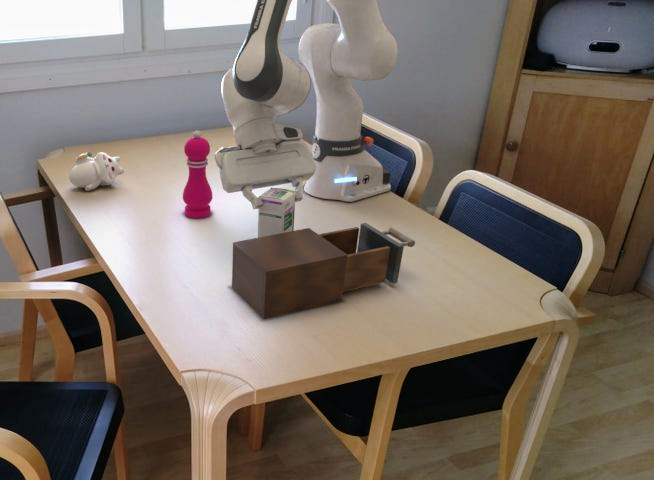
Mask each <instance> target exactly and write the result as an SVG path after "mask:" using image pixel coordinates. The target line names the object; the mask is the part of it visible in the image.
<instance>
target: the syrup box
mask: <svg viewBox="0 0 654 480" xmlns="http://www.w3.org/2000/svg"><path fill="white" fill-rule="evenodd" d="M295 196H296V192H295V190H291V189H286V188H281V187H273V186H270V188H269V189H267V191H265V192H263V193H262V194H261V195H259V196H258V197H261V202H262V204H263V205H262V207H261V208H259V209H258V210H257V212H258V213H257V215H258V216H257V217H258V218H257V238H259V237H264V236H270V235H275V234H280V233H285V232H291V231H295V230H294V229H295V213H296V211H295V210H296V202H295Z"/></svg>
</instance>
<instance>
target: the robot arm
mask: <svg viewBox="0 0 654 480" xmlns="http://www.w3.org/2000/svg"><path fill="white" fill-rule="evenodd" d="M292 1H293V0H257V1H256V4H255V8H254V11H253V14H252V18H251V20H250V23H249V28H248V30H247V34H246V37H245V39H244V41H243V43H242V45H241V47H240V49H239V51H238V54H237V56H236V58H235V59H234V63H233V67H231V68H230V69H229V70H228V71H227V72H226V73H225V74H224V76H223V78H222V81H221V84H220V85H221V88H220V89H221V90H220V91H221V92H220V93H221V98H222V102H223V103H222V104H223V107H224V110H225V113H226V118H227V120H228V122H229V123H230V124H231V127H232V134H233V138H234V141H235V142H234V143H235V145H232V146H228V147H227V146H225V147H224V146H223V147H220V148H219V149H218V150H217V151H216V152H215V153H214V160H215V164H216V166H217V167H218V169H219V177H220V182H221V186H222V187H221V188H222V190H223V191H224V192H225V193H227V194H232V193H233V194H234V193H238V192H241V193H242V195H243V197H244V198H245V199H247V200H248V201H249V203H250V204H251V207H252V209H253V210H257V209H259V208H261V207H262V205H263V204H262V202H261V197H259V196H258V197H257V196H256V195H255V194H254V192H252V191H253V190H256V189H263V188H269V187H275V186H281V185H288V184H291V185H292V187H293V188H294V191H295V192H296V196H295V203H299V202H301V201H302V200H303V199H304V196H303V193H302V189H303V190H304V192H305V193H306V194H307V195H309V196H312V197H316V198H319V199H324V200H337V201H343V202H347V203H348V202H349V203H352V202H356V201H359V200H363V199H366V198H370V197H373V196H376V195H379V194H383V193H387V192H389V191H392V185H391V183H390V179H391V172H390V171H389V170H388V169H386V168H385V167H383V165H382V163H381V162H380V161H379V160H378V159H376V158H375V157H374V156H373V155H372V154H370V152H368V151H367V150H366V148H365V145H366V146H367V147H372V146H373V144H374V141H375V140H374V138H373V137H370V136H364V135H362V134H361V130H362V123H363V116H364V115H363V114H364V102H363V100H362V99H361V97H360V96H359V95H358V93H357V92H356V91H355V89H354V87H353V85H352V80H357V81H361V82H364V81H366V82H367V81H380V80H383V79H385V78H386V77H388V75H390V73H391V72H392V70H393V69H394V67H395V65H396V63H397V61H398V56H399V55H398V54H399V48H398V43H397V41H396V38H395V37H394V35H392V34H391V32H390V31H389V30H388V28H387V27H386V25H385V23H384V20H383V18H382V15H381V12H380V9H379V5H378V4H379V3H378V0H325V2H326V4H327V5H329V7H330V8H331V9H332V10H333V11H334V13H335V15H336V17H337V19H338V23H333V22H324V23H318V24H314V25H311V26H309V27H307V28H306V30H305V31H304V32H303V33H302V35H301V37H300V39H299V42H298V48H297V49H298V57H299V58H298V59H299V60H300V62H298V61H296V60H295V59H293V58H291V57H289V56H287V55H286V54H284V53H283V52H282V49H281V45H280V44H281V43H280V40H281V36H282V34H283V30H284V27H285V23H286V21H287V17H288V14H289V10H290V6H291V4H292ZM311 85H313V89H314V93H315V99H316V113H315V114H316V115H315V131H314V133H313V135H312V142H311V148H310V147H309V145H308V144H307V142H305V141H304V140H302V138H303V132H302V129H300V128H298V127H292V126H287V125H283V124H280V123H276V121H275V118H278V117H282V116H283V115H286V114H288V113H291V112H292V111H295V110H297V109H298V108H300V107H301V106H302V105H303V104H304V103H305V101H306V100H307V98H308V96H309V94H310V91H311ZM304 182H305V184H304V186H303V183H304Z"/></svg>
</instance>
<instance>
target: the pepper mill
mask: <svg viewBox="0 0 654 480" xmlns="http://www.w3.org/2000/svg"><path fill="white" fill-rule="evenodd" d="M183 151H184V155H185V156H186V157H187V158H186V166H187V167H188V177H187V181H186V184H185V186H184V188H183V192H182V201H183V202H184V204H185V206H184V215H185V216H186V217H188V218H191V219H203V218H207V217H209V216H210V215H211V204H210V203H211V202H212V201H213V190H212V187H211V185H210V182H209V181H208V177H207V166H208V165H209V162H208V161H209V159H208V158H207V157H208V156H209V155H210V152H211V146H210V143H209V141H208V140H207V139H206V138H204V137H202V133H201V131H200V130H194V132H193V133H192V137H191V138H189V139H188V140H186V141H185V143H184V148H183Z"/></svg>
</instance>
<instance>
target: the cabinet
mask: <svg viewBox="0 0 654 480" xmlns="http://www.w3.org/2000/svg"><path fill="white" fill-rule="evenodd" d="M318 234H319V233H317V232H315V231H314V230H313V229H312V228H311V227H307V228H302V229H296V230H294V231H291V232H285V233H280V234H275V235H270V236H264V237H259V238H258V237H254V238H249V239H243V240H239V241H234V242H232V267H231V268H232V269H231V288H232V290H234V292H236V293H237V294H238V296H240V297H241V298H242V299H243V300H244V301H245V302H246V303H247V305H249V306H250V307H251V308H252V309H253V310H254V311H255V312H256V313H257V315H259V316H260V317H261V318H262V320H266V319H270V318H275V317H279V316H282V315H287V314H292V313H297V312H302V311H306V310H309V309H314V308H319V307H324V306H327V305H331V304H335V303H341V302H343V294H344V292H343V287H344V279H345V272H346V264H347V256H348V255H347V254H346V253H344V252H343V251H341V250H340V249H338V248H337V247H336V246H334V245H333V244H331V243H330V242H328V241H327V240H326V239H324V238H323V237H321V236H320V235H318Z"/></svg>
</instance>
